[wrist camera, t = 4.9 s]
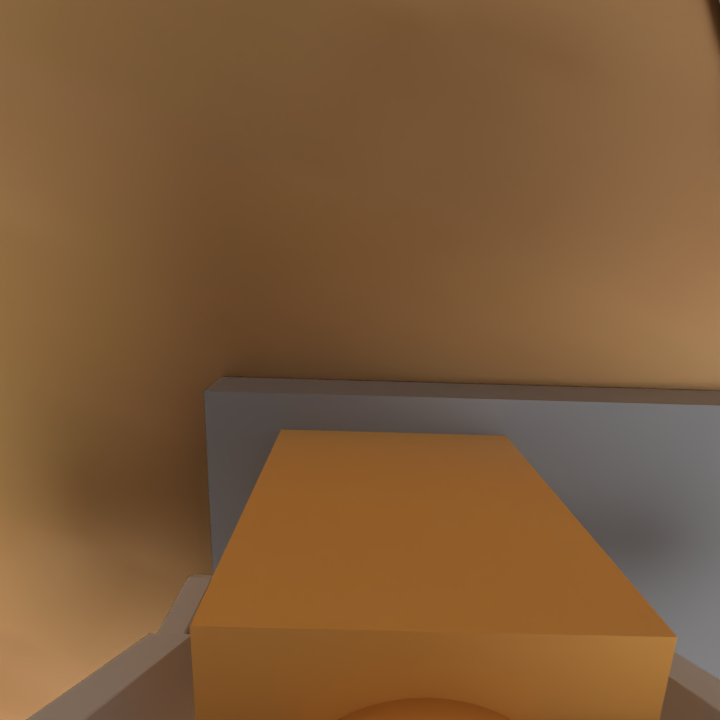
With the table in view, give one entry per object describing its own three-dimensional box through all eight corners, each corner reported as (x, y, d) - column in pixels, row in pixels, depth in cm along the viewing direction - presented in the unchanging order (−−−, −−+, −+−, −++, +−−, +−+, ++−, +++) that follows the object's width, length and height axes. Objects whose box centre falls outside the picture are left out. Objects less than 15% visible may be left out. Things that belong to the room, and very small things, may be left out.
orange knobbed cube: (281, 429, 12) (126, 761, 4) (505, 435, 12) (795, 775, 4) (282, 620, 13) (168, 1157, 5) (485, 625, 13) (673, 1164, 5)
